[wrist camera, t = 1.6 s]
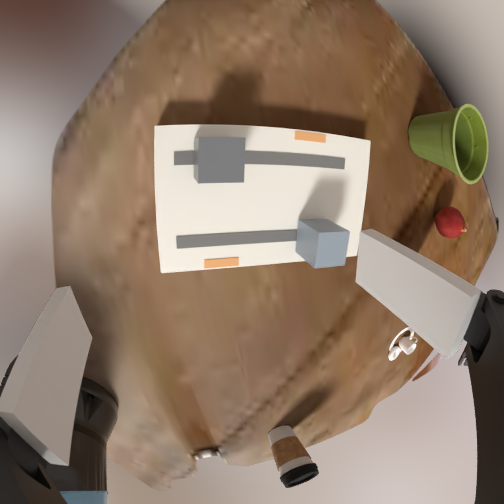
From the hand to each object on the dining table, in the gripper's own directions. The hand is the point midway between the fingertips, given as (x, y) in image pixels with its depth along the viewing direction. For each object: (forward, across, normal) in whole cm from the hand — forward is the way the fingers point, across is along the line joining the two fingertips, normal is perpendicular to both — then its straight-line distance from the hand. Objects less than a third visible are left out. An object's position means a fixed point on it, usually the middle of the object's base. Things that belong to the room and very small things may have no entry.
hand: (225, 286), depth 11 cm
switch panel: (+22, +9, -1) cm, 24 cm away
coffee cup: (+22, +10, -56) cm, 61 cm away
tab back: (+19, +14, -6) cm, 24 cm away
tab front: (+19, +3, +4) cm, 19 cm away
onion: (+22, +44, -8) cm, 50 cm away
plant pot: (+22, +37, +6) cm, 44 cm away
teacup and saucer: (+23, +38, -37) cm, 58 cm away
